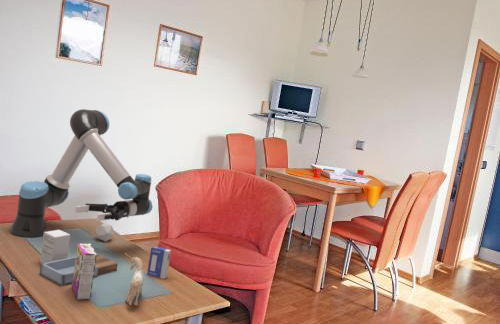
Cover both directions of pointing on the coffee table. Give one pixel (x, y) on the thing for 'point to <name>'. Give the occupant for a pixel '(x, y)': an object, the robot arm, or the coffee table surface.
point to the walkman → (159, 262)
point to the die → (104, 232)
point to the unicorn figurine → (135, 280)
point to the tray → (61, 270)
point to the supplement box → (54, 246)
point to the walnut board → (105, 265)
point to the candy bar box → (84, 271)
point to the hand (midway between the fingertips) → (86, 213)
